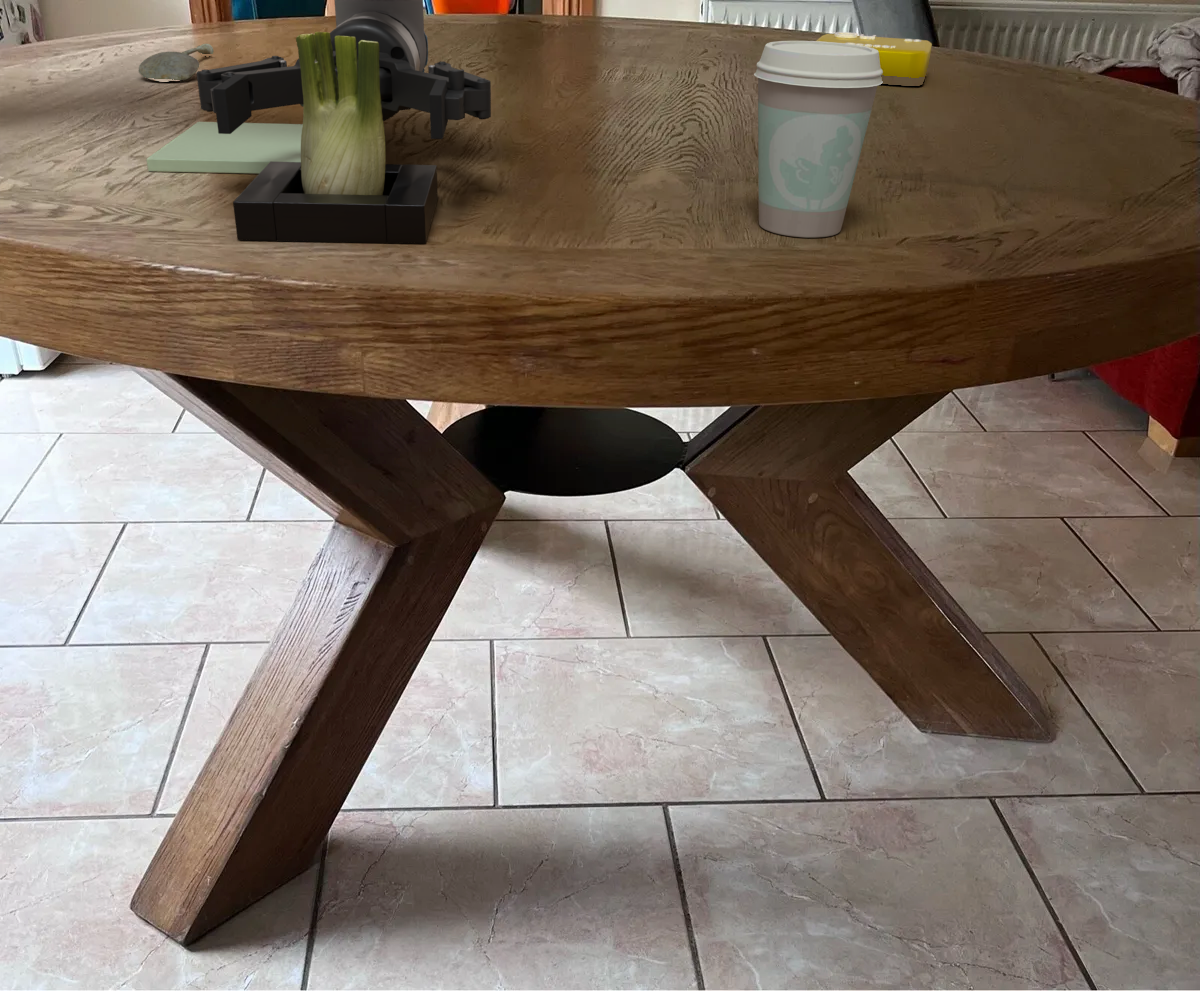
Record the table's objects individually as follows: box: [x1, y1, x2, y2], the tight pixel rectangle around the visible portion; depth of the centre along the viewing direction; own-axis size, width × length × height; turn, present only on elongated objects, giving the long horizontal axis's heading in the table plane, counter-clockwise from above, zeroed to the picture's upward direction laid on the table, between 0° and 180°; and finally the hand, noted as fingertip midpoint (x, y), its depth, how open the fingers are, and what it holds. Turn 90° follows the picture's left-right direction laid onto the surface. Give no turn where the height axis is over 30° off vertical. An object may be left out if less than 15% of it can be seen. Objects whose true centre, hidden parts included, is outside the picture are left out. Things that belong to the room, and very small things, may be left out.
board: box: [145, 121, 303, 175], centre depth 95 cm, size 16×16×1 cm
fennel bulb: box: [295, 31, 387, 195], centre depth 75 cm, size 6×5×12 cm
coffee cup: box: [753, 40, 883, 239], centre depth 77 cm, size 8×9×12 cm
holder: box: [232, 162, 439, 245], centre depth 77 cm, size 12×12×2 cm
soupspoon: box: [137, 43, 215, 81], centre depth 135 cm, size 22×3×7 cm
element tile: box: [815, 31, 933, 78], centre depth 150 cm, size 15×15×5 cm
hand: (329, 114), depth 71 cm, fingers open, 13 cm apart
